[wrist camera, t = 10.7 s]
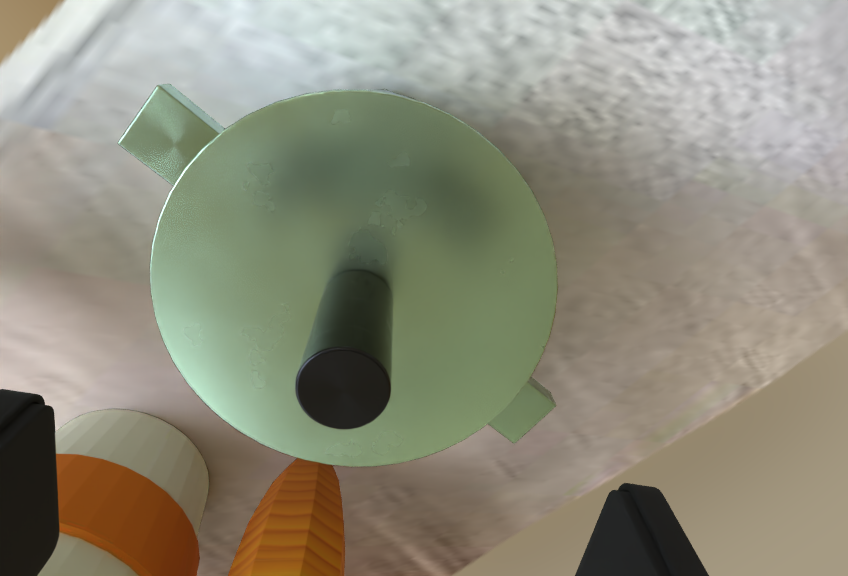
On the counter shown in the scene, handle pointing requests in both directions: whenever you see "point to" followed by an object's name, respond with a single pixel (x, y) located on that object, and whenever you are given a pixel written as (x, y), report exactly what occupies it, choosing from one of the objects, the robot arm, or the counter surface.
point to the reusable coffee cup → (127, 497)
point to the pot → (193, 129)
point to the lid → (353, 278)
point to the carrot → (296, 526)
